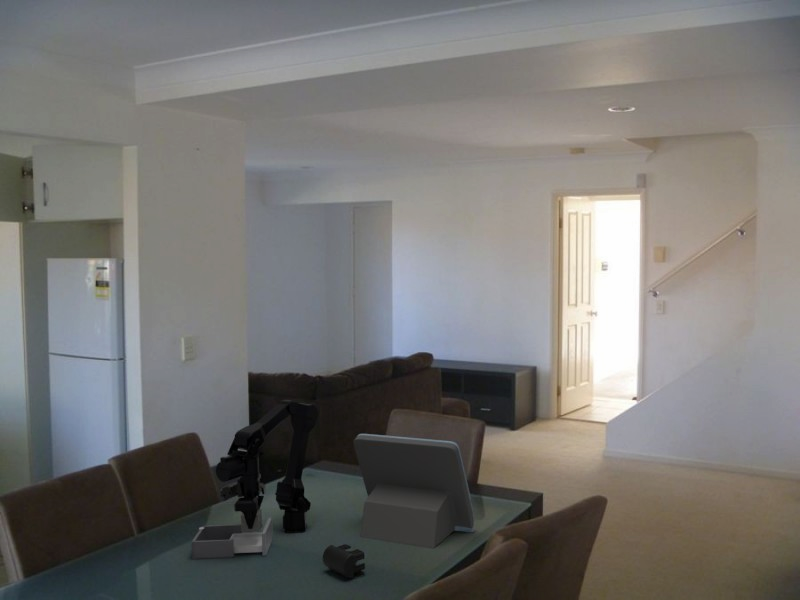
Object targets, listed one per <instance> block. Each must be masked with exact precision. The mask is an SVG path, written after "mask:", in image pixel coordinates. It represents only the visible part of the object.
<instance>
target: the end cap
mask: <svg viewBox="0 0 800 600" xmlns="http://www.w3.org/2000/svg"><path fill="white" fill-rule="evenodd" d="M348 549H352V546H351V545H348V544H347V543H343V544H342V545H338V546H335V545H333V544H330V545H328V546H327V547H326V548H325V549H324V551H323V554H322V562H323V564H324V566H325V567H327V568H328V569H329V570H332V571H334V572H336V573H338V574H340V575H342V576H343V577H346V578H348V579H350V580H354V579H356V578H359V577H361V576H364V575H365V572H364V571H365V569H366V564H365V562H362V563H360V564H357V562H359V561H362V560H365V552H364V551H363V550H360V549H359V548H357V549H353V550H348ZM363 570H364V571H363Z"/></svg>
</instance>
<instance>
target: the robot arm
mask: <svg viewBox="0 0 800 600" xmlns="http://www.w3.org/2000/svg"><path fill="white" fill-rule="evenodd" d="M288 417H290V418H289V419H290V420H289V421H290V425H291V427H292V437H291V442H290V448H289V455H288V460H287V465H286V472H285V476H284V478H283V480H282V481H277V484H276V490H275V492H274V495H275V501H276V502H277V506H278V508H279V510H280V511H281V510H282V511H284V513H283V515H282V528H283V532H284V533H305V532H306V530H307V528H308V527H307V526H308V523H307V518H306V517H307V515H306V513H307V512H308V511H310V509H311V505H312V503H311V501H309V500H308V498H306V496H305V486H304V484H303V481H302V477H303V471H304V466H305V459H306V455H307V454H306V453H307V449H308V448H307V447H308V443H309V436H310V433H311V431H312V430H313V429H314V427H315V426H316V424H317V421H318V417H319V410H318V408H317V406H316V405H315V404H309V403H301V402H300V403H299V402H296V401H294V400H290V399H282V400H279V402H277V405H276V406H274V407H273V408H272V409H271V410H269V411H268V412H267V413H266V414H265V415H263V416H262V417H261V418H260V419H259V420H258V421H256V422H255V423H253V424H250V425H247V426H245V427H243V428H241V429H239V430H237V431H236V432H235V434H234V437H233V440H232V441H231V442H232V443H231V445H230V446H229V449H228V452H227V453H226V454H227V455H226V456H221V457H220V459H219V462H218V463H217V464H216V468H215V474H216V477H217V479H218V480H219V481H221V482H222V483H225V482H229V481H231V480H235V479H237V478H238V479H237V480H236V481H234V482H232V483H228V484H227V485H224V486H223V487H221V489H220V490H219V492H220V495H219V496H220V498H222V500H223V501H228V500H229V499H231V498H233V497H236V496H237V498H238V499H236V501H235V503H234V507H233V508H234V512H241V514H242V513H243V514H244V517H245V520H246V523H247V526H248V529H252V528H253V525H254V522H255V518H256V515H257V512H258V510H259V509H261V506H262V504H263V501H264V498H265V496H264V495H265V494H266V491H267V490H266V485H265V484H264V483H263V482H260V481H261V480H260V479H261V478H262V476H261V475H262V474H261V473H260V463H259V462H260V460H259V459H260V458H259V457H261V456H263V455H264V454H265V453H264V451H262V450H261V449H260V448H261V446H263V445H264V443H265V441H266V437H267V436H268V434H270V433H271V432H272V431H273V430H275V428H276V427H278V426H279V425H280V424H281V423H282V422H284V421H285V420H286V419H287V418H288ZM260 494H261V495H260Z"/></svg>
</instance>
